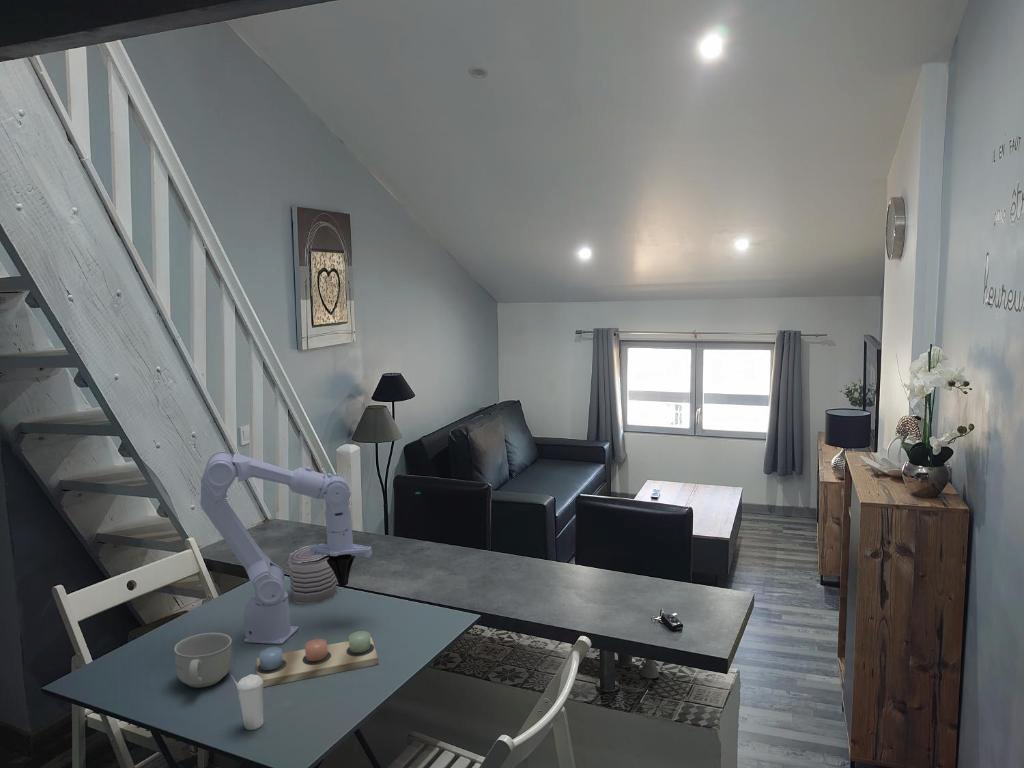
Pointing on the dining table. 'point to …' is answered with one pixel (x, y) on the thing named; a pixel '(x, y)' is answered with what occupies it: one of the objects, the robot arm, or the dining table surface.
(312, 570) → the can
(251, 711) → the milkshake
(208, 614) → the dining table surface
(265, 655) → the slate button
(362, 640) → the sage button
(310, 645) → the terracotta button
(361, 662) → the button panel
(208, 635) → the teacup
